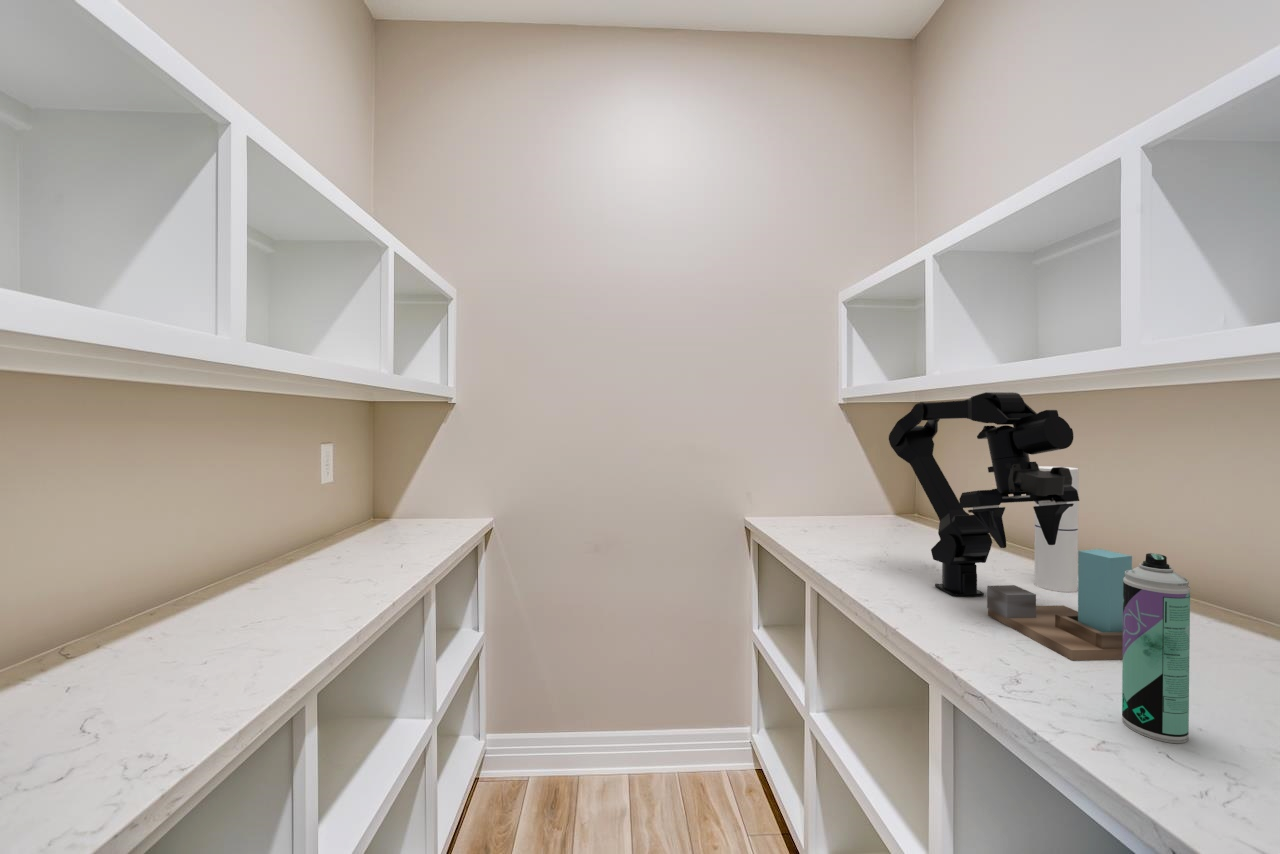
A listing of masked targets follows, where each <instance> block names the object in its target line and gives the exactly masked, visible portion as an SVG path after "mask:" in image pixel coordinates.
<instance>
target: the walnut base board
mask: <svg viewBox="0 0 1280 854" xmlns="http://www.w3.org/2000/svg"><path fill="white" fill-rule="evenodd" d="M986 589H987V590H986V602H987V603H986V609H987V616H989V617H991V618H993V619H995V620H996V621H998V622H999V623H1002V624H1003V625H1005V624H1006V625H1005V626H1007V625H1008V626H1007V627H1010V628H1011V629H1013V630H1014V631H1016V630H1017V632H1018V631H1019V633H1020V632H1021V633H1020V634H1022V633H1023V634H1022V635H1025V636H1026V637H1027V638H1029V637H1030V639H1031V638H1032V640H1033V641H1035V642H1037V643H1039V644H1040V645H1042V646H1044V647H1047V648H1048V649H1050V650H1052V651H1053V650H1054V652H1055V651H1056V652H1055V653H1056V654H1059V653H1060V654H1059V655H1061V656H1063V657H1065V658H1066V657H1067V659H1068V660H1070V661H1102V660H1103V661H1106V660H1110V661H1112V660H1115V661H1116V660H1123V632H1106V633H1102V632H1100V631H1098V630H1096V629H1093V628H1091V627H1089V626H1087V625H1084V624H1082V623H1080V622H1078V610H1075V609H1072V608H1071V607H1068V606H1066V605H1064V604H1063V605H1037V594H1036V593H1034V592H1031V591H1029V590H1026V589H1025V588H1022V587H1020V586H1017V585H1016V584H1014V585H1013V584H1012V585H1010V584H1009V585H1007V584H1004V585H987V586H986Z"/></svg>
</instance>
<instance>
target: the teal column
mask: <svg viewBox="0 0 1280 854" xmlns="http://www.w3.org/2000/svg"><path fill="white" fill-rule="evenodd" d="M1132 569H1133V556H1132V555H1130V554H1129V555H1128V554H1124V553H1119V552H1116V551H1110V550H1107V549H1101V548H1097V549H1095V548H1094V549H1087V550H1086V549H1085V550H1078V590H1077V591H1078V592H1077V611H1078V622H1080V623H1082V624H1084V625H1087V626H1089V627H1091V628H1093V629H1096V630H1098V631H1100V632H1102V633H1106V632H1123V578H1124V577H1125V571H1127V570H1132Z"/></svg>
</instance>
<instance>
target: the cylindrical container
mask: <svg viewBox="0 0 1280 854" xmlns="http://www.w3.org/2000/svg"><path fill="white" fill-rule="evenodd" d="M1038 467H1039V470H1040V471H1051V469H1052V468H1053V467H1055V466H1052V465H1051V466H1050V465H1049V466H1047V465H1046V466H1045V465H1043V466H1040V465H1038ZM1064 467H1065V468H1069V470H1070V473H1071V476H1072V485H1071V486H1072V487H1074V488H1075V489H1076V490H1077V492H1078V493H1079V468H1077V467H1071V466H1070V467H1069V466H1064ZM1067 504H1074V505H1073V506H1072V507H1069V508H1068V509H1067V510H1066V511H1065V512H1064V513H1063V514H1062V517H1061V520H1060V523H1059V528H1058V533H1057V538H1056V543H1055V545H1048V543H1047V541H1046V539H1045V537H1044V534H1043V532H1042V529H1041V526H1040V524H1039V521H1038V519H1037V516H1036V513H1035V512H1034V574H1033V575H1034V583H1033V584H1034V585H1035V586H1037V587H1038V588H1041V589H1043V590H1048V591H1054V592H1061V593H1074V592H1077V591H1078V551H1079V501H1073V502H1067ZM1034 506H1039V504H1037V503H1036V502H1034Z"/></svg>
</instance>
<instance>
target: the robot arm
mask: <svg viewBox="0 0 1280 854" xmlns="http://www.w3.org/2000/svg"><path fill="white" fill-rule="evenodd" d="M1058 411H1059V410H1057V409H1045V410H1041V411H1040V412H1038V413H1037V412H1036V411H1035V410H1033V408H1031V406H1029V405H1028V404H1027V403H1026V402H1025V401H1024V398H1023V397H1022V396H1021V394H1020V393H1018V392H1014V391H1013V392H1009V391H1008V392H1007V391H1006V392H1000V391H999V392H993V391H992V392H991V391H990V392H988V391H987V392H982V393H979V394H976V395H972V396H970V397H969V398H967V399H963V400H951V401H950V400H949V401H931V402H929V401H927V402H926V401H925V402H924V401H921V402H918V403H916V404H914V406H913V407H912V409H911V411H909V412H908V413H907V414H905V415H904V416H902V417H901V418H900V419H899V420H897V422H896V423H895V425H894V426H893V428H892V430H890V433H889V434H888V443H889V445H890V447H891V449H892V450H893V451H894V452H895V454H896V455H897V457H899V458H900V459H902V460H903V461H905V462H906V463H908V464H909V465H910V466H911V468H912V470H913V472H914V474H915V476H916V478H917V480H918V482H919V483H920V485H921V488H922V489H923V491H924V493H925V495H926V497H927V498H928V501H929V502H930V504H931V506H932V508H933V510H934V511H935V513H936V515H937V517H938V519H939V525H938V531H937V532H938V536H939V539H940V540H939V541H938V542H936V544H934V546H932V548H931V549H930V551H931V556H932V559H933V560H934V561H937V562H938V563H942V566H941V568H942V570H941V571H942V573H941V574H942V575H941V578H942V579H941V581H942V583H934V587H936V588H937V589H940V590H941V591H944V592H945V593H947V594H949V595H951V596H952V597H966V596H967V597H969V596H970V597H972V596H975V597H977V596H982V597H983V596H984V595H985V592H983V591H981V590H978V574H977V571H978V570H977V566H978V565H977V564H978V563H979V564H981V563H982V564H984V563H987V561H988V557H989V554H990V551H991V549H992V544H993V541H995V543H996V544H997V546H999V548H1000V549H1006V548H1007V538H1006V532H1005V531H1006V530H1005V528H1004V521H1003V515H1004V513H1005V510H1006V506H1002V507H1000V505H1001V504H1009V503H1010V504H1011V503H1028V502H1029V503H1031V502H1033V503H1035V502H1036V503H1037V504H1039V506H1035V505H1034V506H1032V508H1033V511H1034V514H1035V513H1036V516H1037V519H1038V521H1039V524H1040V526H1041V529H1042V532H1043V534H1044V537H1045V539H1046V541H1047V543H1048V545H1055V543H1056V538H1057V533H1058V528H1059V523H1060V520H1061V517H1062V514H1063V513H1064V512H1065V511H1066V510H1067V509H1068V508H1069V507H1072V506H1073V505H1074V504H1067V502H1073V501H1078V502H1080V497H1079V491H1078V492H1077V490H1076V489H1075V488H1074V487H1072V486H1071V485H1072V476H1071V473H1070V470H1069V468H1065V467H1066V466H1054V467H1053V468H1052V469H1051V471H1040V470H1039V467H1038V466H1039V464H1038V463H1037V461H1031V459H1030V455H1032V456H1033V455H1038V454H1043V453H1048V452H1049V453H1050V452H1054V451H1059V450H1065V449H1068V448H1069V447H1071V445H1072V444H1073V441H1074V431H1073V428H1072V427H1071V426H1070V424H1069V423H1068V422H1067V421H1066V420H1065V419H1064V418H1063V417H1062V416H1060V415H1059V413H1058ZM949 419H950V420H953V419H968V420H970V421H972V422H978V423H983V424H995V425H998V426H997V427H996V426H995V425H984V426H983V427H982V429H981V431H979V433H978V434H977V435H976V438H977V439H978V440H987V444H988V449H989V450H988V451H989V455H990V460H991V465H992V466H988V467H987V471H988V473H990V474H991V473H993V475H994V481H995V486H996V488H991V489H983V490H973V491H964V492H962V493H961V495H960V496H959V499H958V497H957V495H956V494H955V491H954V489H952V486H951V485H950V483H949V481H948V479H947V477H946V476H945V474H944V473H943V470H942V469H941V467H940V466H939V464H938V462H937V460H936V459H935V457H934V449H935V443H934V442H935V441H934V440H933V439H934V438H935V436H936V435H937V434H938V431H939V429H938V428H939V427H938V425H939V421H940V420H949ZM923 421H926V422H925V424H924V426H923V425H919V424H921V422H923ZM1000 425H1001V426H1000ZM1011 425H1012V426H1011ZM1010 495H1011V496H1010ZM968 508H969V509H968ZM971 508H972V509H971ZM965 509H967V512H966V510H965ZM970 513H972V514H970ZM992 539H993V540H992Z"/></svg>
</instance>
